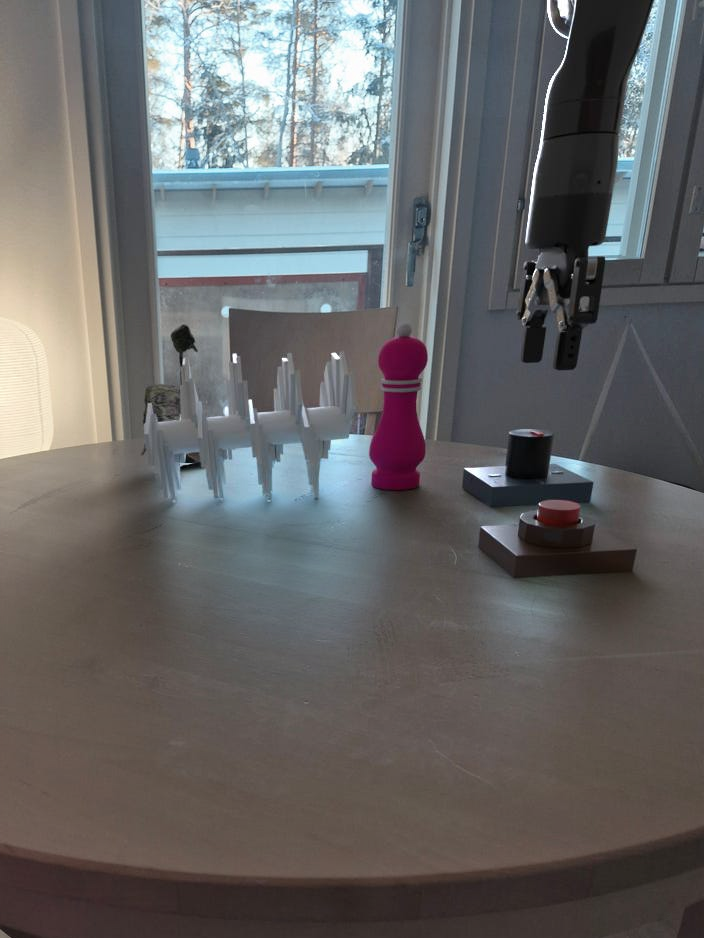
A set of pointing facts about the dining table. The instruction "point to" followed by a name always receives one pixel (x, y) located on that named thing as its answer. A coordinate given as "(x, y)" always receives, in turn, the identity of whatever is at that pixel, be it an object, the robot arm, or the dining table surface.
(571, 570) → the switch block
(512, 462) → the dial
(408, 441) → the pepper mill
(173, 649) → the dining table surface
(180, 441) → the spiral staircase
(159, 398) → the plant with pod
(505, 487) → the panel
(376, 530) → the dining table surface
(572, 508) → the button
